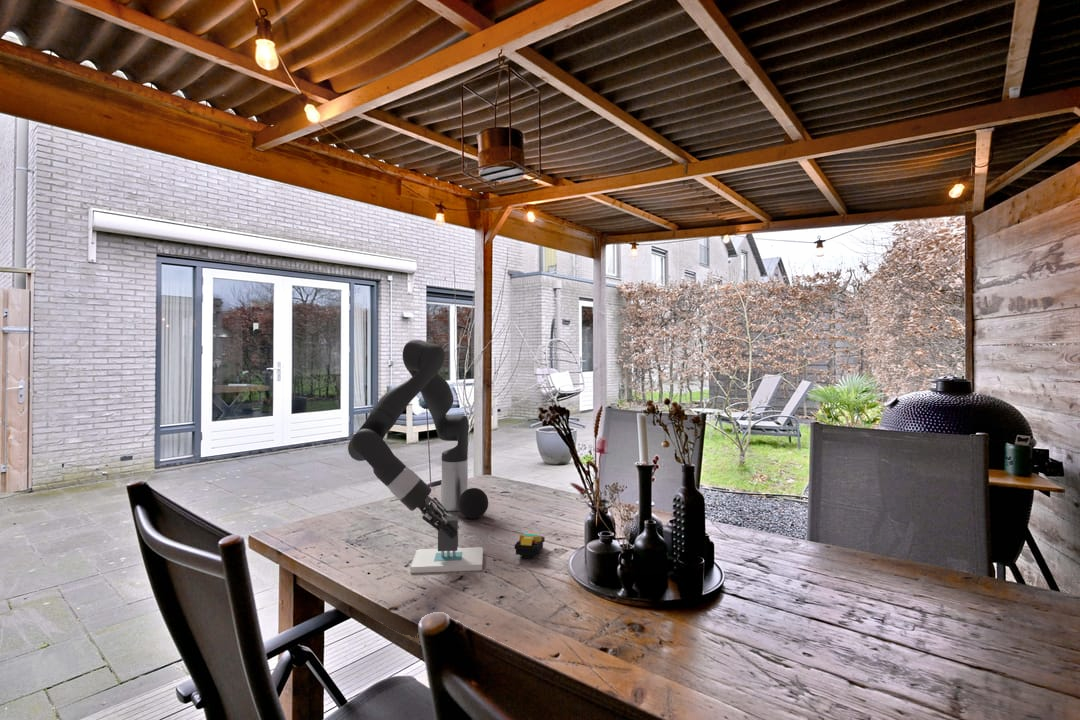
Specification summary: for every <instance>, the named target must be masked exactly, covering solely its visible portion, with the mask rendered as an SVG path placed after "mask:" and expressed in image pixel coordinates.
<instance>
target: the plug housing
mask: <svg viewBox="0 0 1080 720" xmlns="http://www.w3.org/2000/svg"><path fill="white" fill-rule="evenodd" d="M443 517H444V519H445V520H446V521H447V522H448V523H449V524H450V525H451V526H452V527H453V528H454V529H455V530H456V531H457V532H458V533H457V535H456V536H455V537H454V538H453V539H451V538H450V537H449V536H448V535H447V534H446V533H445V532H444V531H443V530H439V531H438V530H437V549H438V551H457V548H459V528H458V526H459V515H449V516H443ZM438 523H440V522H439V521H438Z"/></svg>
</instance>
